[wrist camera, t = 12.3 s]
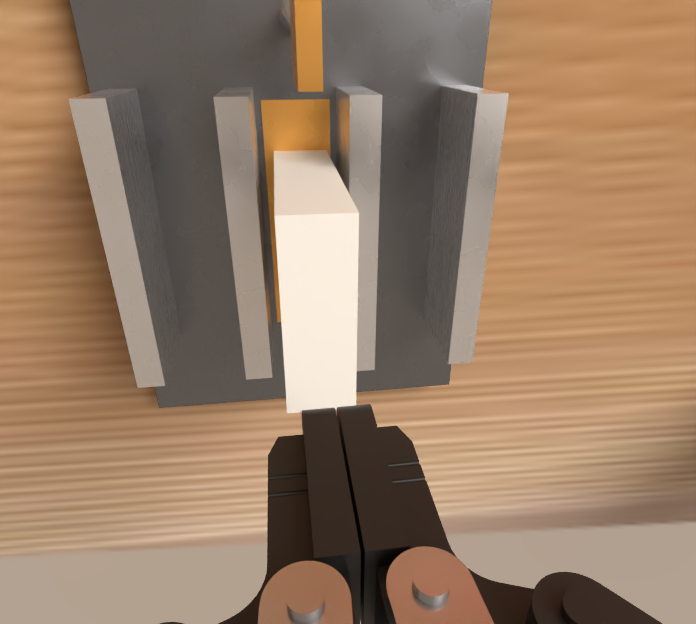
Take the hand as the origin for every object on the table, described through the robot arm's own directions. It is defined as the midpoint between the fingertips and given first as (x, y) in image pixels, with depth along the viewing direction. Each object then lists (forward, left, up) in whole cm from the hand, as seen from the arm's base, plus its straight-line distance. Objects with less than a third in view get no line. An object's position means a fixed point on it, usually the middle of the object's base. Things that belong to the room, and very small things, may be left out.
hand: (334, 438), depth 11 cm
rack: (0, 0, -17) cm, 17 cm away
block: (0, 0, -15) cm, 15 cm away
